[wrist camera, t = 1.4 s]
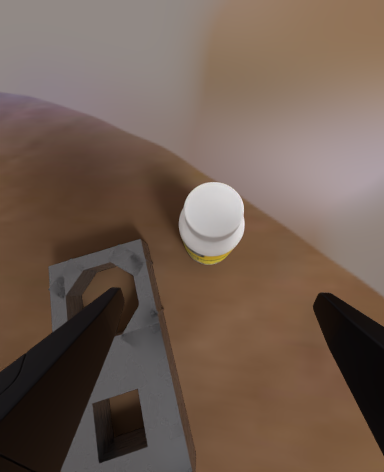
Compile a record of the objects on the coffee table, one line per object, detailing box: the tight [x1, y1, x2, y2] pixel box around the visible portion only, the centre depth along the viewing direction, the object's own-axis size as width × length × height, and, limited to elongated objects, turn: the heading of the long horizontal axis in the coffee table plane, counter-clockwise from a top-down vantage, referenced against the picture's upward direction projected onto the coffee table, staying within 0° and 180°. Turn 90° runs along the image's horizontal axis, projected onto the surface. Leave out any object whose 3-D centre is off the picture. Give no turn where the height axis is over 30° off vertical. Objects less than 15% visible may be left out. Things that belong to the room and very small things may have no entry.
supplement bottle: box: [179, 182, 244, 265], centre depth 16 cm, size 5×5×10 cm
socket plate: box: [48, 239, 196, 472], centre depth 17 cm, size 20×10×2 cm, turn 17°
